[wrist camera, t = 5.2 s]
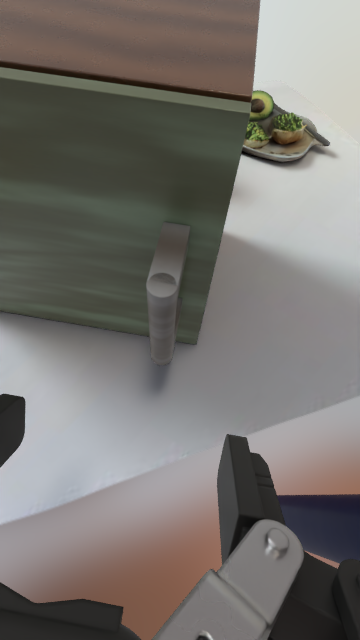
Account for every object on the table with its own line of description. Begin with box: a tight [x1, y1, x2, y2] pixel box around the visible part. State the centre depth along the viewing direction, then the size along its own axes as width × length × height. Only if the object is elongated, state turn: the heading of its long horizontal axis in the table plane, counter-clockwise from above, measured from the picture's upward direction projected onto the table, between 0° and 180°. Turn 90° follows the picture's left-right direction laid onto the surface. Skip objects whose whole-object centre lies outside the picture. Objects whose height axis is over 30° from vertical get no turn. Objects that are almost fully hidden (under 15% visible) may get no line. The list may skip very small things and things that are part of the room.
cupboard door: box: [0, 67, 251, 366], centre depth 23 cm, size 7×26×24 cm, turn 81°
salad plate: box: [242, 90, 330, 162], centre depth 55 cm, size 19×18×5 cm
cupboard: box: [0, 0, 260, 103], centre depth 29 cm, size 18×26×24 cm
